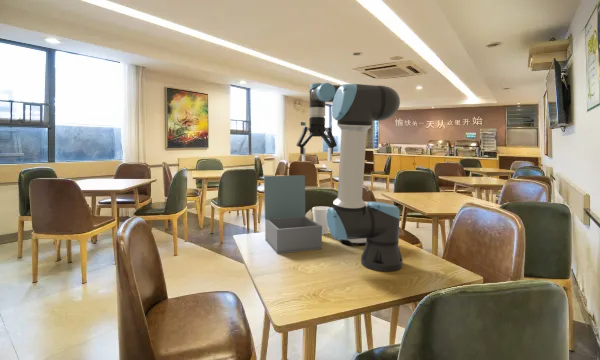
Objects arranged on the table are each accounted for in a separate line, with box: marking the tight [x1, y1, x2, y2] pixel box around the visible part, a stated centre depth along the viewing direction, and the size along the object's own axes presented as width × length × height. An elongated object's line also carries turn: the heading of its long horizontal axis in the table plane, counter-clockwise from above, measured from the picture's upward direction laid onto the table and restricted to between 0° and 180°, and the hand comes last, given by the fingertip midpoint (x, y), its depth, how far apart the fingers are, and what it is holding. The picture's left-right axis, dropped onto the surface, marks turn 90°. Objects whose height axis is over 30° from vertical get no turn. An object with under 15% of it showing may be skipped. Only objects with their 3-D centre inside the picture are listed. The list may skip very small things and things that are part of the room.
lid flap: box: [263, 174, 306, 219], centre depth 159 cm, size 20×20×12 cm
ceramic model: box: [304, 208, 314, 221], centre depth 177 cm, size 14×11×10 cm
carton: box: [264, 216, 323, 254], centre depth 145 cm, size 20×20×10 cm
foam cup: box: [311, 205, 330, 236], centre depth 163 cm, size 10×9×13 cm
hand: (316, 161), depth 157 cm, fingers open, 13 cm apart
